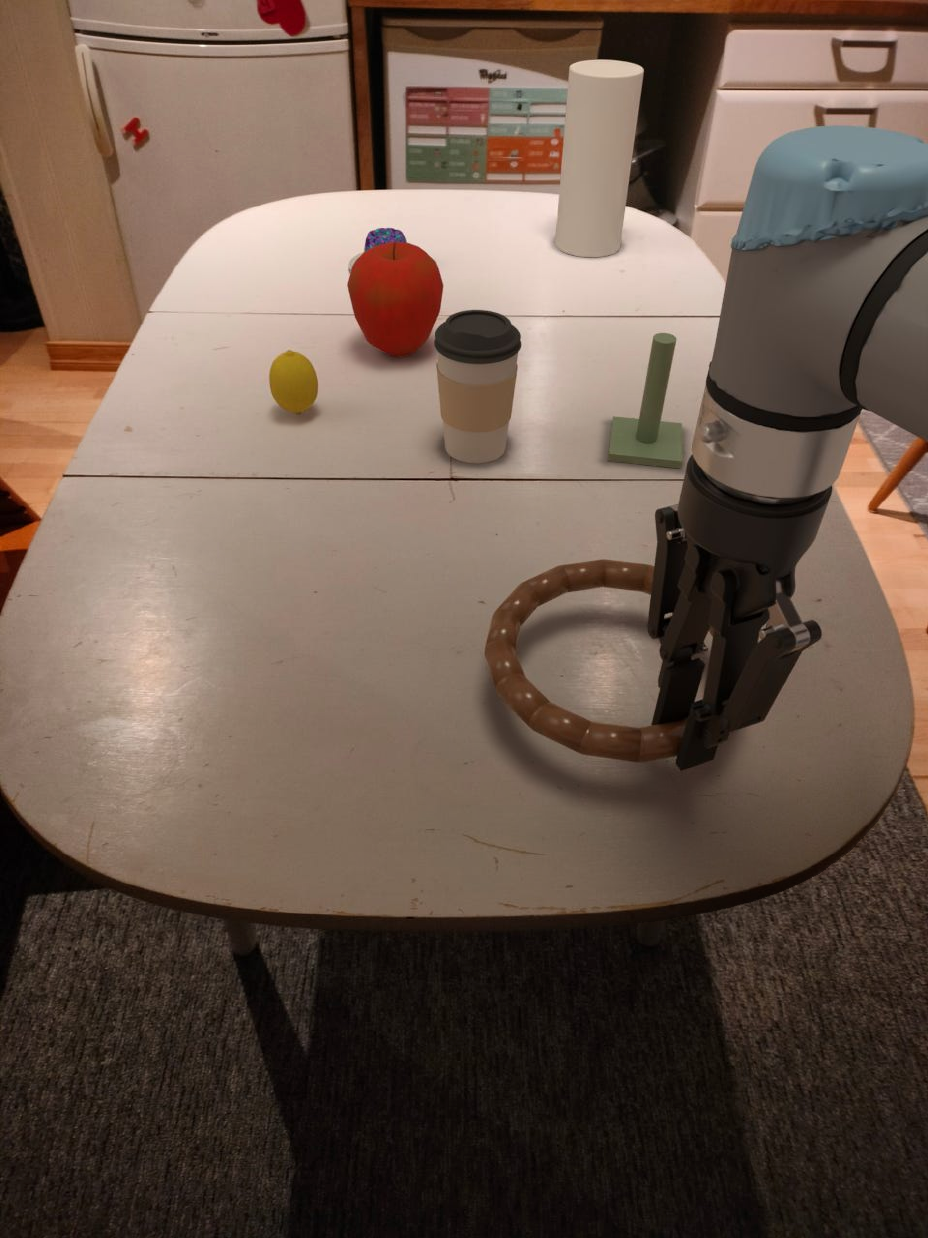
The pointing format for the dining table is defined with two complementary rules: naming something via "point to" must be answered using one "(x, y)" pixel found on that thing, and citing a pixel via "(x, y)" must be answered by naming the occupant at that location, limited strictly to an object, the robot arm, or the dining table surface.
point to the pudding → (380, 240)
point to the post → (650, 417)
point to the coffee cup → (476, 382)
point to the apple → (395, 296)
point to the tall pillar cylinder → (597, 155)
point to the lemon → (293, 382)
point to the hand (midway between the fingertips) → (681, 743)
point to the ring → (534, 704)
